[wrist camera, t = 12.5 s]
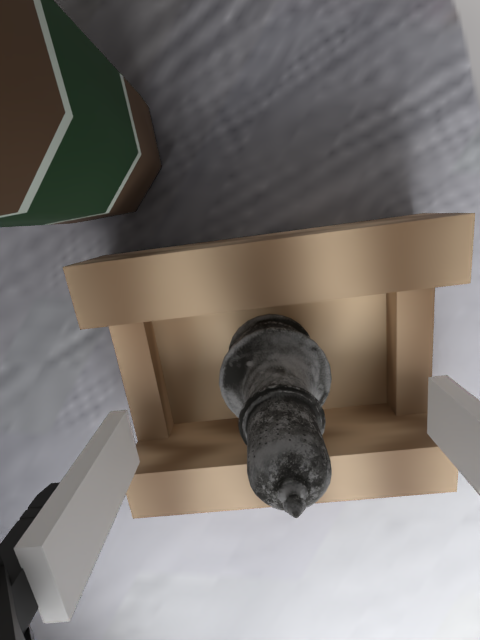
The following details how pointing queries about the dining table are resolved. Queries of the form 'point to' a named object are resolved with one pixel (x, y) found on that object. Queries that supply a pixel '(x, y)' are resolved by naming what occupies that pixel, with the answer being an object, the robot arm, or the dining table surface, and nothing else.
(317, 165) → the dining table surface
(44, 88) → the beer bottle
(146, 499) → the well block
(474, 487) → the robot arm
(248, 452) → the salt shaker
